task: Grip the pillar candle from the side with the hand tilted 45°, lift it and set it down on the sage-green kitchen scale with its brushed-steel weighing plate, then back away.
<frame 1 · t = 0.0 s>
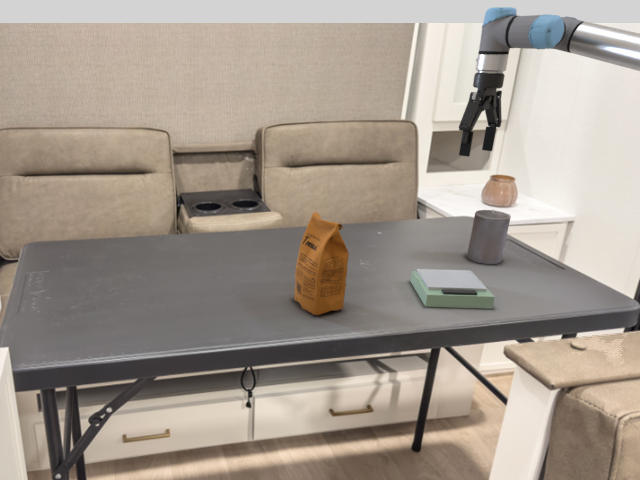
hand: (475, 153, 163), 30 cm above the table, tool pointing down, fingers open, 13 cm apart
coffee package: (317, 305, 141), on the table
pillar candle: (484, 259, 172), on the table
scale: (449, 294, 147), on the table
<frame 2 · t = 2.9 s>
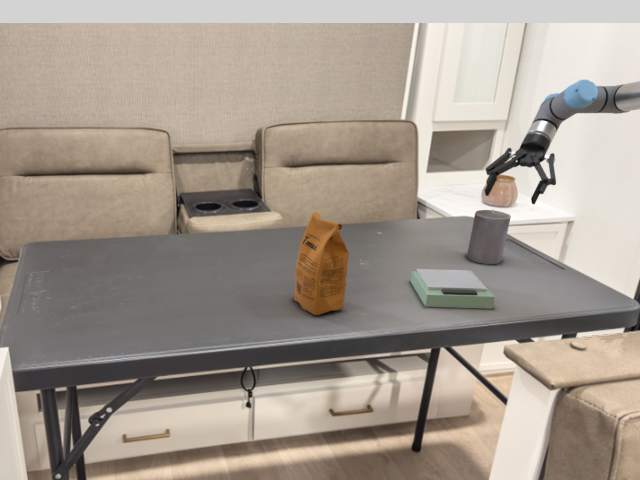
hand: (508, 197, 172), 17 cm above the table, tool tilted 45°, fingers open, 13 cm apart
nothing on the table moved.
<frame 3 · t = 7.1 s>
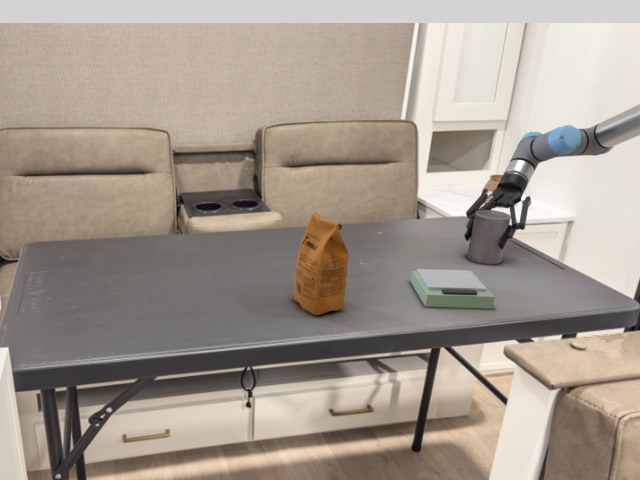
hand: (483, 242, 168), 6 cm above the table, tool tilted 45°, fingers closed on pillar candle, 9 cm apart
pillar candle: (484, 259, 172), on the table, touching gripper
everything else where it was.
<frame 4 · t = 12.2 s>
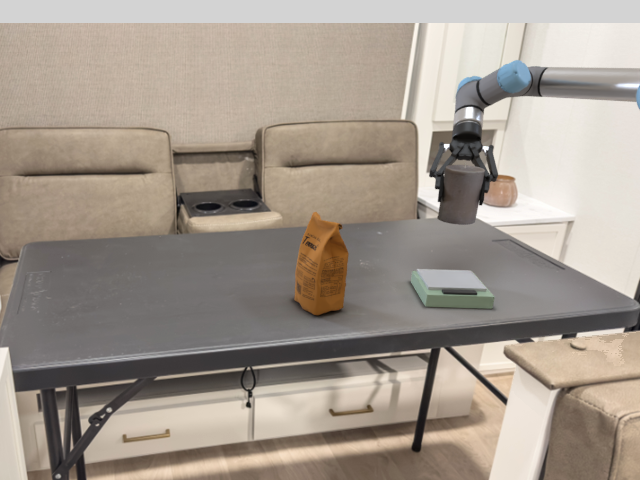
hand: (460, 200, 149), 21 cm above the table, tool tilted 45°, fingers closed on pillar candle, 9 cm apart
pillar candle: (456, 220, 154), point 15 cm above the table, touching gripper
everything else where it was.
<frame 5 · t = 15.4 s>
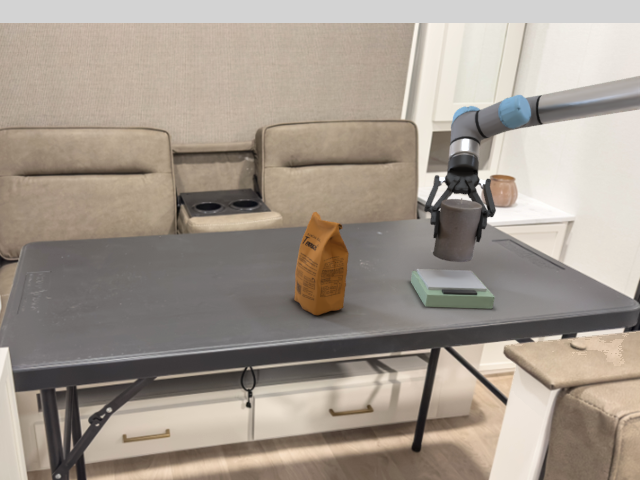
hand: (456, 237, 144), 14 cm above the table, tool tilted 45°, fingers closed on pillar candle, 9 cm apart
pillar candle: (452, 256, 149), point 8 cm above the table, touching gripper
everything else where it was.
when the fingers open (10 cm above the table, at t = 17.8 s): pillar candle stays where it is, resting on scale.
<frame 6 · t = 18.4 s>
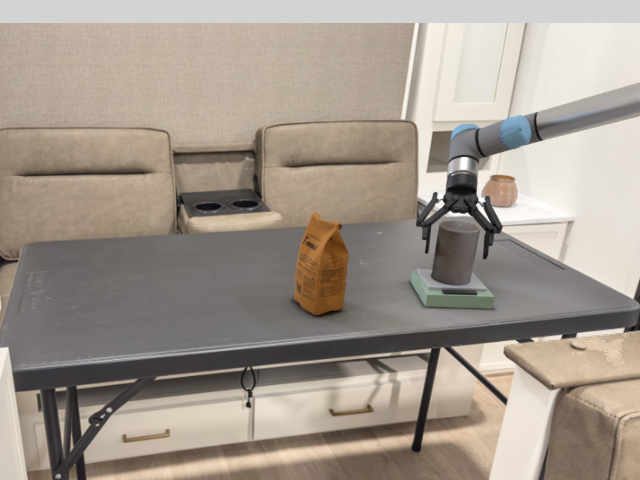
hand: (455, 254, 142), 11 cm above the table, tool tilted 45°, fingers open, 13 cm apart
pillar candle: (450, 278, 147), point 4 cm above the table, touching scale
everything else where it was.
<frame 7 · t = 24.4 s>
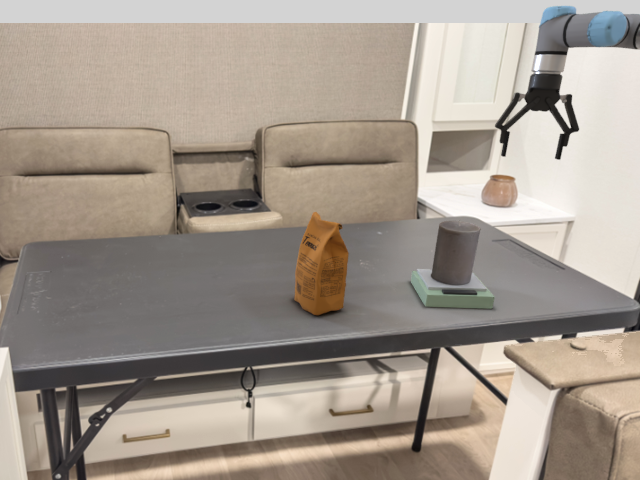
hand: (530, 157, 157), 30 cm above the table, tool pointing down, fingers open, 13 cm apart
nothing on the table moved.
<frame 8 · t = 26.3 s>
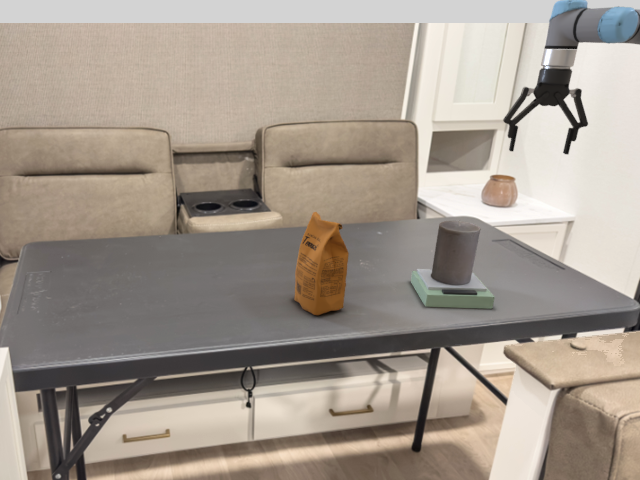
hand: (538, 152, 157), 32 cm above the table, tool pointing down, fingers open, 13 cm apart
nothing on the table moved.
at the end: pillar candle inside the target area on the scale (0.2 cm from its centre), point 3.8 cm above the scale's base; pillar candle tilted 0°; the gripper is holding nothing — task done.
